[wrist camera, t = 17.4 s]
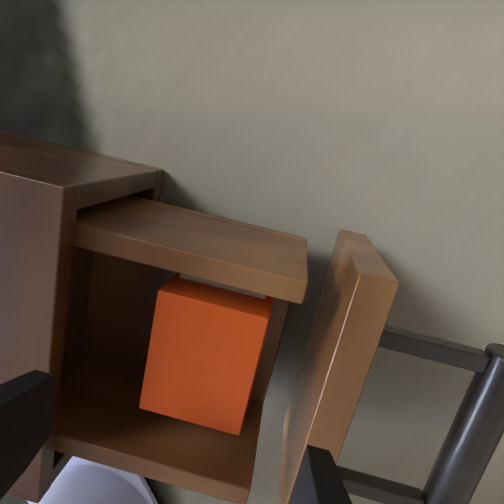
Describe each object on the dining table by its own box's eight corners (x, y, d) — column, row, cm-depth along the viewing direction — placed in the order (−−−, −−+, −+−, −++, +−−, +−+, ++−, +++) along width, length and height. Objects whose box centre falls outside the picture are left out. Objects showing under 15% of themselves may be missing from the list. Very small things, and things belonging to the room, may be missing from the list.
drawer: (482, 263, 17) (581, 328, 11) (404, 453, 20) (448, 586, 14) (98, 169, 18) (-5, 182, 12) (77, 363, 21) (-14, 451, 15)
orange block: (281, 263, 17) (275, 298, 13) (248, 390, 19) (234, 453, 15) (192, 241, 17) (160, 268, 13) (169, 369, 19) (135, 425, 15)
